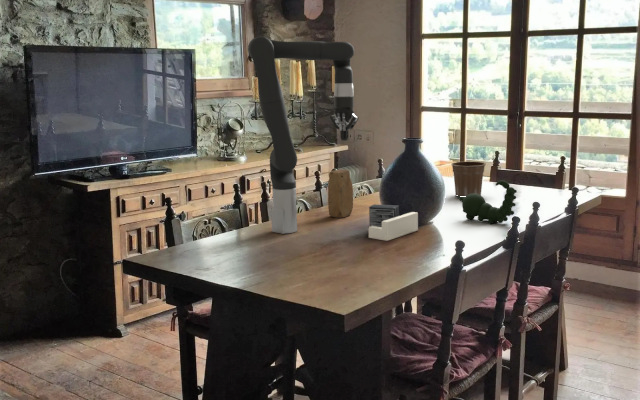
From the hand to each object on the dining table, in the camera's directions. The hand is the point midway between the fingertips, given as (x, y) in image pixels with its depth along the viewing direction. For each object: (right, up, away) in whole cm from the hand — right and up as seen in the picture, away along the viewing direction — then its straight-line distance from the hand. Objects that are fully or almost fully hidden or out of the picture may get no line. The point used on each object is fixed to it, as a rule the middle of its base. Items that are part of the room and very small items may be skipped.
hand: (344, 140), depth 268 cm
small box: (+15, -36, -2) cm, 39 cm away
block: (0, -30, +30) cm, 42 cm away
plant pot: (+63, -22, +68) cm, 95 cm away
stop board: (+19, -36, -5) cm, 41 cm away
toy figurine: (+58, -32, +13) cm, 67 cm away
